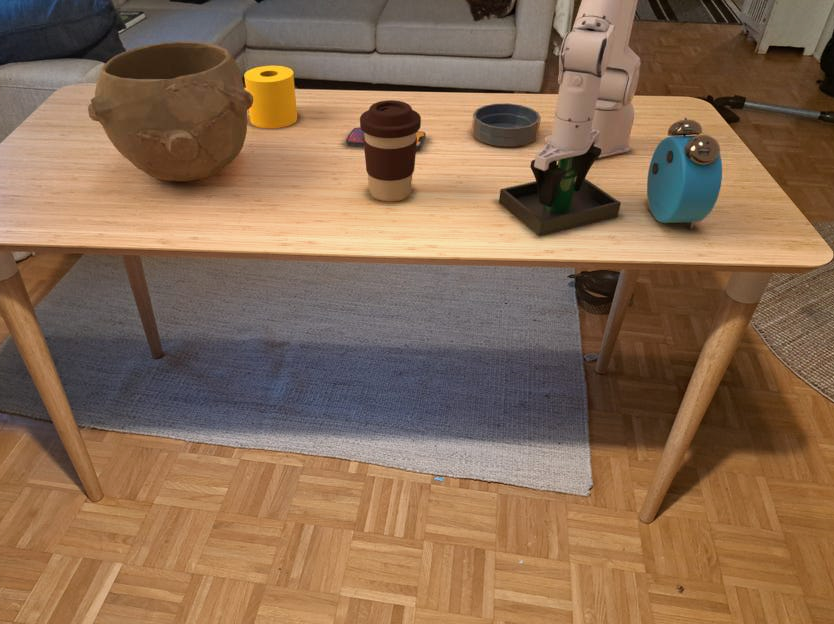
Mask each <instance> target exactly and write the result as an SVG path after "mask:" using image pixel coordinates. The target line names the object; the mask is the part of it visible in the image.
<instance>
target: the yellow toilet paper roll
mask: <svg viewBox="0 0 834 624" xmlns="http://www.w3.org/2000/svg"><path fill="white" fill-rule="evenodd" d="M243 76H244V84H245V85H244V86H245V91H247V92H249V93H250V94H251V95H252V96H253V104H252V107H250V108H249V109H248V112H249V121H250V124H251V125H253V126H254V127H257V128H260V129H281V128H285V127H288V126H291V125H293V124H294V123H296V122H297V120H298V111H297V99H296V88H295V87H296V86H295V76H294V71H293V70H292V69H291V68H290V67H287V66H282V65H263V66H258V67H254V68H251V69H248V70H247V71H246V72H245V73H244V75H243Z"/></svg>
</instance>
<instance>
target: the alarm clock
mask: <svg viewBox="0 0 834 624" xmlns="http://www.w3.org/2000/svg"><path fill="white" fill-rule="evenodd" d="M722 180H723V161H722V156H721V145H720V143H719V141H718V140H717V139H716V138H714V137H713V136H711V135H708V134H703V126H702V125H701V124H700V123H699V122H698V121H697V120H694V119H688V118H687V117H684V118H683V119H679V120H678V121H675V122H674V123H672V124H671V125H670V126H669V128H668V130H667V137H664V138H663V139H662V140H661V141H660V142H659V143H658V145H657V146H656V147H655V150H654V151H653V153H652V156H651V159H650V163H649V166H648V171H647V181H646V182H647V183H646V191H647V192H646V193H647V195H646V196H647V201H648V206H649V210H650V213H651V215H652V216H653V218H654V219H655V220H656V221H657V222H659V223H662V224H671V223H672V224H673V223H689V228H690V229H693V227H694V224H695V223H696V222H697V223H698V222H701V221H703V220H705V219H706V218H707V217H708V216H709V215H710V214H711V212H713V209H714V207H715V205H716V203H717V200H718V198H719V196H720V191H721V187H722Z"/></svg>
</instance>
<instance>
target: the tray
mask: <svg viewBox="0 0 834 624" xmlns="http://www.w3.org/2000/svg"><path fill="white" fill-rule="evenodd" d="M498 204H500V205H501V206H502V207H503V208H504V209H506V210H507V211H508V212H510V214H512V215H513V216H514V217H516V219H518V220H519V221H520V222H521V223H522V224H524V225H525V226H526V228H528V229H530V231H532V232H533V233H535V234H536V236H538V237H541V236H545V235H550V234H554V233H557V232H561V231H565V230H569V229H573V228H577V227H580V226H584V225H588V224H589V225H590V224H592V223H597V222H601V221H605V220H610V219H613V218H616V217H617V218H618V216H619V213H620V212H619V211H620V209H621V205H622V202H621V201H619V200H618V199H617V198H614V196H611V194H609V193H607V191H604V189H601V188H600V187H598V186H597V185H596V184H594V183H593V182H591V181H589V179H587V178H585V179H584V181H583V184H582V186H581V188H580V189H579V191H577V192H576V191H574V193H573V198H572V203H571V208H570V210H569V211H567V212H564V213H554V212H550V211H548V210H546V209H545V208H544V205H542V204H540V203H539V196H538V188H537V182H536V180H535V181H531V182H530V181H529V182H527V183H522V184H516V185H512V186H508V187H504V188H500V190H499V200H498Z"/></svg>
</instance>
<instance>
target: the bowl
mask: <svg viewBox="0 0 834 624" xmlns="http://www.w3.org/2000/svg"><path fill="white" fill-rule="evenodd" d="M243 81H244V80H243V78H242V74H241V71H240V68H239V66H238V64H237V61H236V60H235V59H234V56H233V55H232V54H231V53H230V52H229V51H228V49H227V48H226V47H222V46H220V45H216V44H213V43H210V42H209V43H208V42H202V41H192V40H190V41H189V40H187V41H186V40H179V41H177V40H176V41H165V42H158V43H153V44H146V45H142V46H138V47H135V48H132V49H128V50H125V51H123V52H121V53H119V54H117V55H115V56H113V57H112V58H111V59H109V60H107V62H105V64H103V66H102V67H101V68H100V71H99V75H98V77H97V82H96V85H95V91H94V97H92V98H90V103H89V104H88V106H87V111H88V117H89V119H91V120H92V121H95V122H99V124H100V125H101V126H102V129H103V131H104V133H105V134H106V136H107V138H108V139H109V141H110V142H111V144H112V145H113V147H114V148H115V149H116V150H117V151H118V152H119V153H120V154H121V155H122V157H123V158H125V159H126V160H128V161H129V162H130V163H131V164H132V165H133V166H135V167H136V168H137V169H138V170H140V171H142V172H143V173H145V174H147V175H149V176H152V177H153V178H157V179H159V180H162V181H171V182H188V181H195V180H197V181H198V180H202V179H203V180H204V179H206V178H208V177H210V176H213V175H214V174H216V173H219V172H221V171H223V170H224V169H225V168H227V167H228V166H229V165H231V164H232V163H233V162H234V161H235V160H236V158H237V157H238V156H239V155H240V152H241V151H242V149H243V147H244V144H245V141H246V137H247V132H248V122H249V121H248V111H249V108H250V107H252V104H253V96H252V95H251V94H250V93H249V92H247V91H246V88H245V85H244V84H245V83H244V82H243Z"/></svg>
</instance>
